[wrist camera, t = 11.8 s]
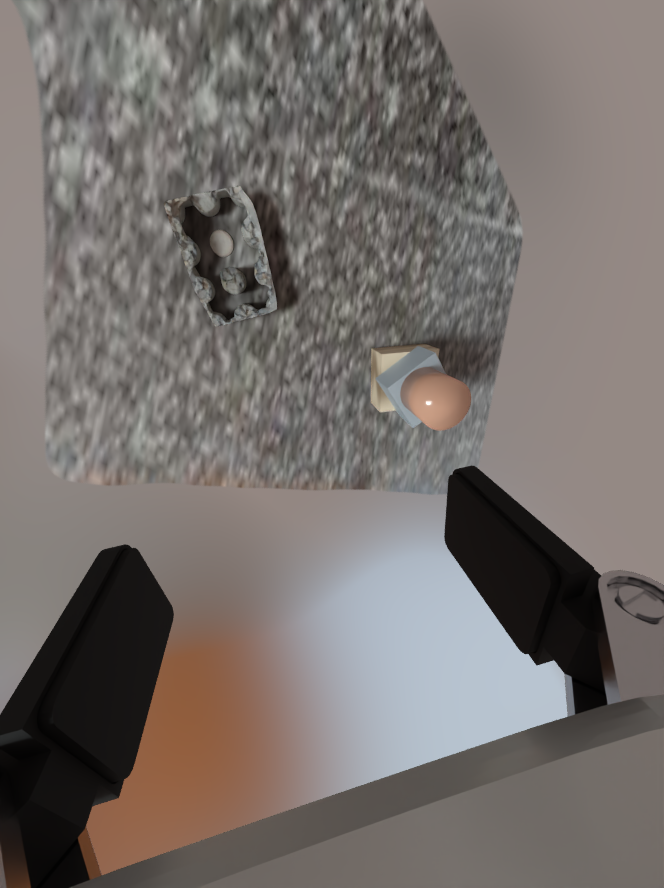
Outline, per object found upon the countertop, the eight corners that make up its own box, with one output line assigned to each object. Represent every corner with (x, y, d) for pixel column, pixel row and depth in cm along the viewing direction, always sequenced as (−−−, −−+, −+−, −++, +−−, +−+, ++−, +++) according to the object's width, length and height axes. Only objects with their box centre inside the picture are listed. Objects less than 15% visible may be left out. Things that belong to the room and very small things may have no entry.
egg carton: (170, 205, 28) (156, 193, 25) (250, 191, 29) (248, 177, 26) (211, 325, 34) (205, 330, 30) (279, 311, 34) (281, 314, 31)
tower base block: (370, 348, 38) (381, 354, 35) (423, 343, 39) (439, 349, 36) (370, 401, 41) (380, 412, 38) (419, 395, 42) (432, 405, 39)
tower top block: (375, 378, 36) (387, 388, 32) (418, 345, 35) (435, 352, 32) (399, 415, 39) (412, 428, 35) (439, 385, 38) (457, 396, 34)
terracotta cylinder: (401, 369, 32) (423, 382, 27) (446, 364, 32) (474, 376, 28) (399, 414, 34) (419, 433, 30) (441, 409, 35) (466, 426, 30)
